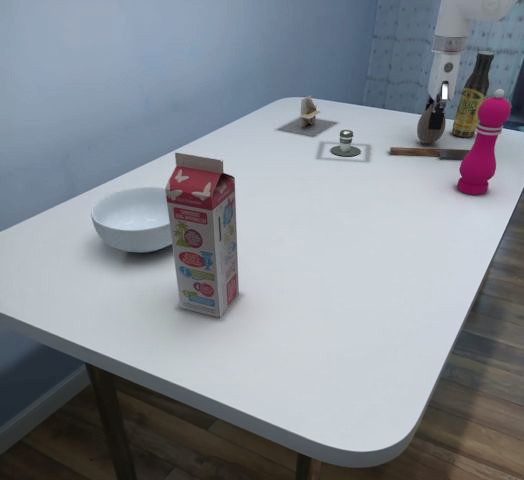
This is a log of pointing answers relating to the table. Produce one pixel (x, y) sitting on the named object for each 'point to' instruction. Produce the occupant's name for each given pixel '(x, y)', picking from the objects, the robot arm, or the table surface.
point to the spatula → (431, 152)
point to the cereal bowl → (133, 219)
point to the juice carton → (203, 234)
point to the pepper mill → (484, 146)
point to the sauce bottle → (473, 96)
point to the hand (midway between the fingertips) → (431, 123)
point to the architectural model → (307, 120)
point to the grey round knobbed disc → (345, 145)
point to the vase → (429, 134)
